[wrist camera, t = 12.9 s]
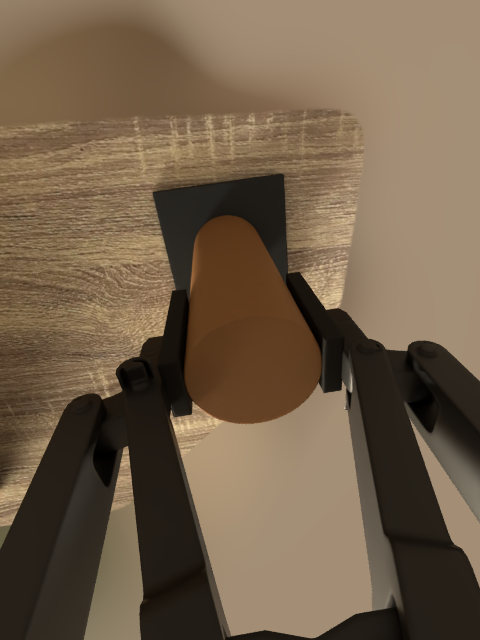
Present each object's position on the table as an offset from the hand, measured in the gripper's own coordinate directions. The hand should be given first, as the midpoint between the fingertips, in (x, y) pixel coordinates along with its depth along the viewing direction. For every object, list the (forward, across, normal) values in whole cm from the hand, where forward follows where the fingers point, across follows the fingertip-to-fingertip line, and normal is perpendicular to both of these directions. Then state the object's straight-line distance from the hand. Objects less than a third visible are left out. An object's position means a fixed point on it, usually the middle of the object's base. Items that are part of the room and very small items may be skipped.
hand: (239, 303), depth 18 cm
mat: (+10, 0, 0) cm, 10 cm away
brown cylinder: (+10, 0, 0) cm, 10 cm away
